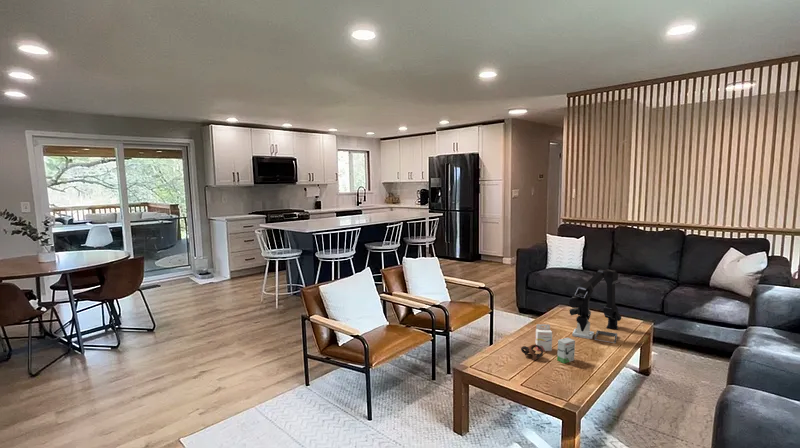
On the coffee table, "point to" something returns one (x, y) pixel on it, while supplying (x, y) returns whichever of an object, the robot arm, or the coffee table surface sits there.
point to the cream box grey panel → (586, 330)
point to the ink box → (566, 350)
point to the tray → (583, 335)
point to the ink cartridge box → (543, 337)
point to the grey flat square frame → (606, 334)
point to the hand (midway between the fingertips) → (583, 328)
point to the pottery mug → (532, 351)
